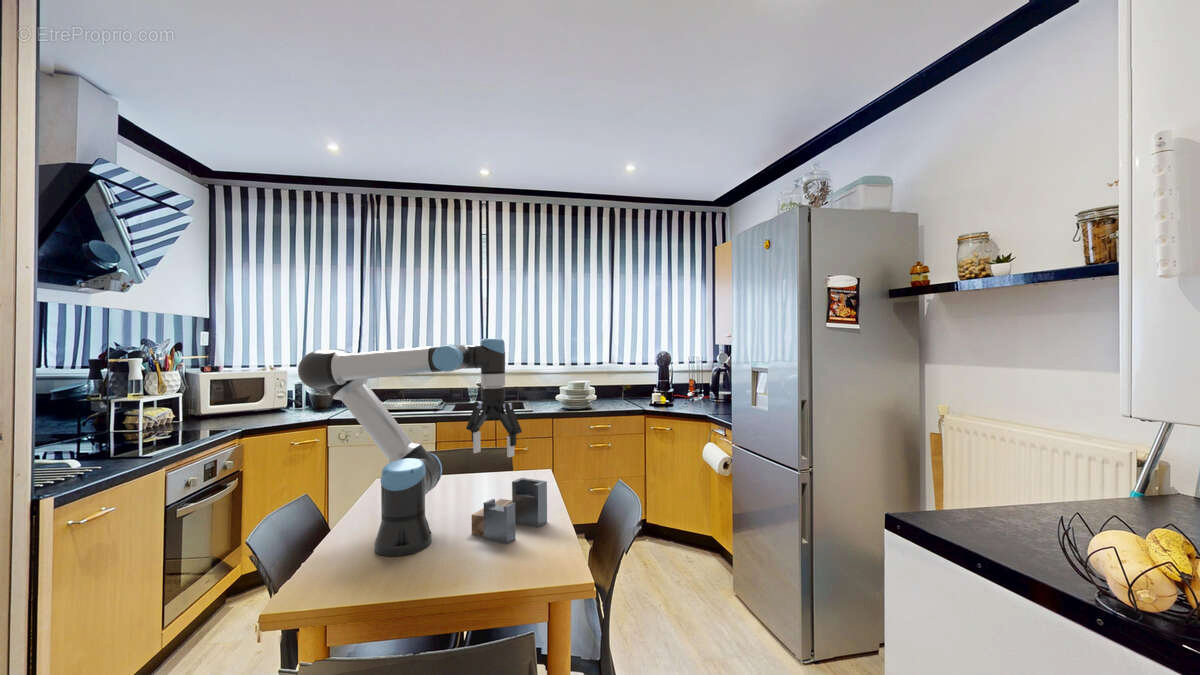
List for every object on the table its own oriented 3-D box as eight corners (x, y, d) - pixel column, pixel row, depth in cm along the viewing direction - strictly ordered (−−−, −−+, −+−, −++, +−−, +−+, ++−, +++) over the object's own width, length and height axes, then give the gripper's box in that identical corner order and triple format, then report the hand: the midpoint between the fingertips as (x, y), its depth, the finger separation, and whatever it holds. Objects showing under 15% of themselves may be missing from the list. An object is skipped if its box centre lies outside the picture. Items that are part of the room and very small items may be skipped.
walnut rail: (471, 534, 146) (471, 514, 147) (500, 517, 161) (500, 498, 161) (485, 536, 145) (485, 516, 145) (513, 518, 160) (513, 500, 160)
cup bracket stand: (481, 538, 143) (481, 493, 143) (521, 517, 160) (521, 477, 160) (508, 544, 138) (508, 498, 139) (547, 522, 156) (546, 481, 156)
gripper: (532, 387, 151) (533, 455, 151) (471, 385, 163) (471, 448, 163) (517, 389, 145) (518, 460, 144) (455, 386, 156) (455, 453, 156)
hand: (493, 454), depth 154 cm, fingers open, 13 cm apart
